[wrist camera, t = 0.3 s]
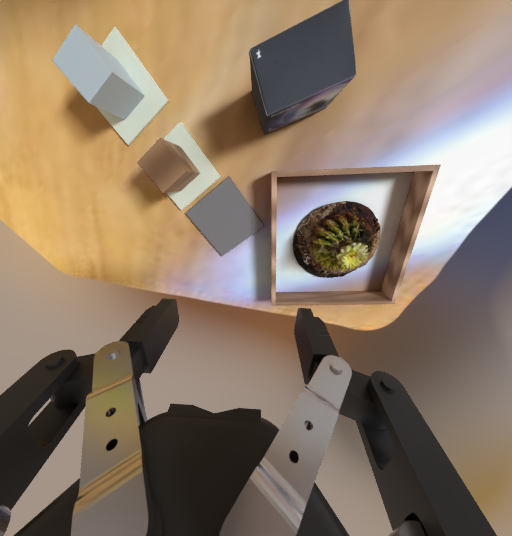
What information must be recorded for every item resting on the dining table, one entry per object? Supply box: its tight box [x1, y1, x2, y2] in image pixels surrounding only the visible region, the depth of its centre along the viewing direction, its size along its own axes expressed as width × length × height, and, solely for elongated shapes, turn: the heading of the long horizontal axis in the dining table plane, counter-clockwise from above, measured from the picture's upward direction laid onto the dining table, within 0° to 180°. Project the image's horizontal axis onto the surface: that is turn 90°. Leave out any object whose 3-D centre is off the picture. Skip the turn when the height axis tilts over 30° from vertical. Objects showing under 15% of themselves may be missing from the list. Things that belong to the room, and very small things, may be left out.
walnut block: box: [137, 138, 200, 193], centre depth 30 cm, size 5×5×7 cm
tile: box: [164, 121, 221, 210], centre depth 34 cm, size 10×10×1 cm
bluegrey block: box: [52, 24, 145, 119], centre depth 26 cm, size 5×5×7 cm
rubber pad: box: [186, 177, 264, 256], centre depth 37 cm, size 11×11×1 cm
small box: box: [249, 0, 356, 134], centre depth 25 cm, size 11×6×10 cm, turn 110°
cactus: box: [293, 201, 380, 278], centre depth 34 cm, size 17×16×10 cm
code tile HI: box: [95, 27, 169, 145], centre depth 29 cm, size 10×10×1 cm
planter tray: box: [271, 165, 440, 306], centre depth 37 cm, size 26×26×4 cm
